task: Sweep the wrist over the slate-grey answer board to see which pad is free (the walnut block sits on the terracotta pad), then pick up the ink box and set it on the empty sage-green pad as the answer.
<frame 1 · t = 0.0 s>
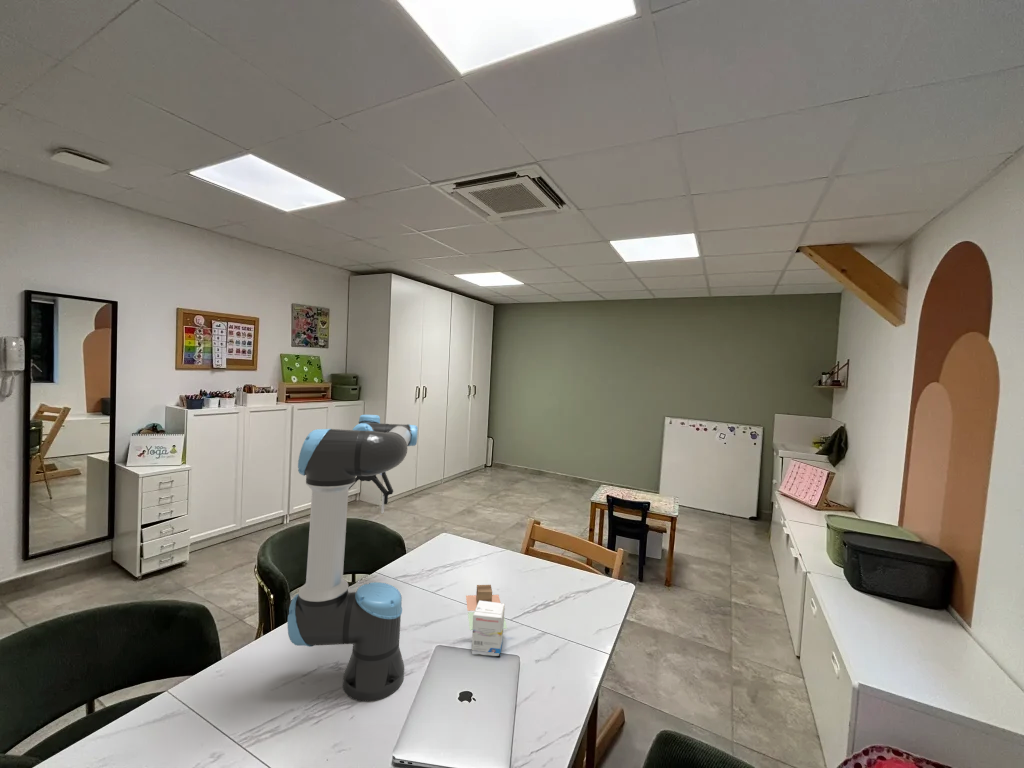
hand: (363, 512, 152), 28 cm above the table, fingers open, 13 cm apart
walnut block: (483, 602, 144), point 1 cm above the table, touching answer board
answer board: (484, 615, 139), on the table
ink box: (487, 647, 122), on the table
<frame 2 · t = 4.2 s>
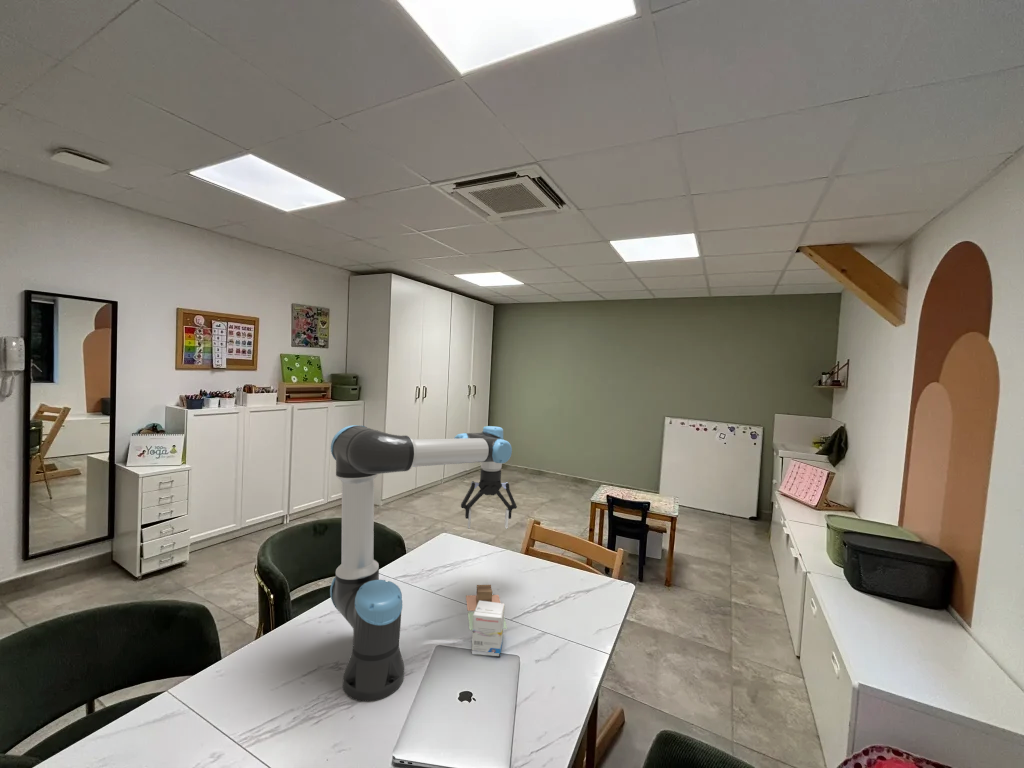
hand: (487, 527, 148), 27 cm above the table, fingers open, 13 cm apart
nothing on the table moved.
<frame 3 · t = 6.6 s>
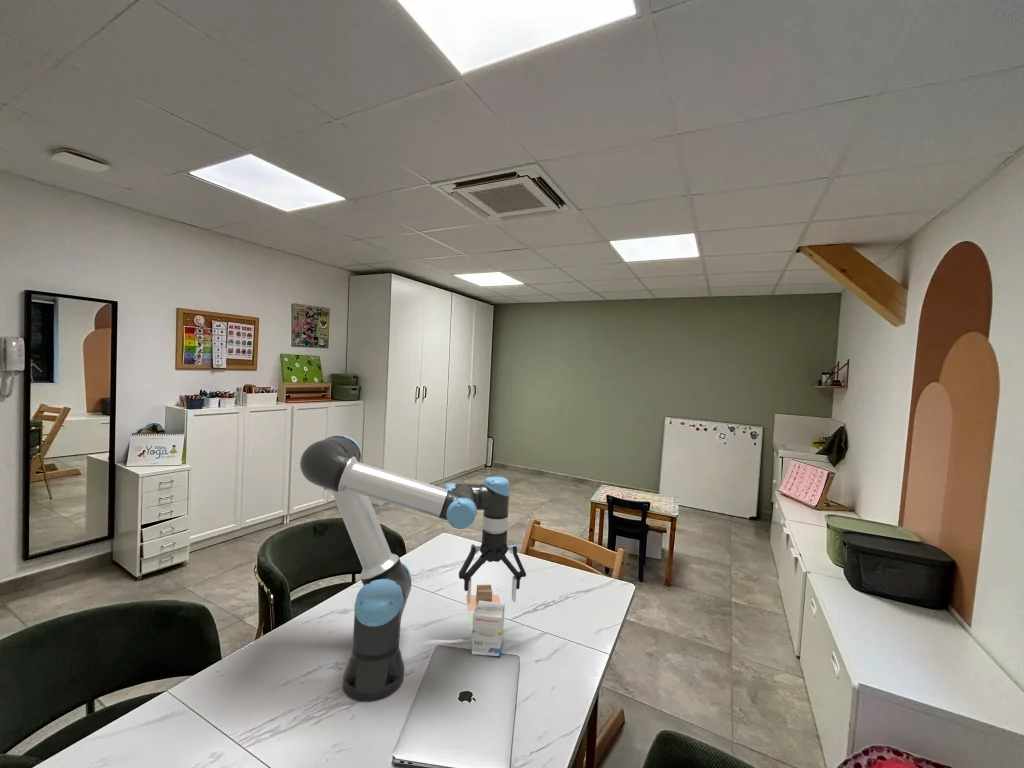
hand: (491, 600, 122), 14 cm above the table, fingers open, 13 cm apart
nothing on the table moved.
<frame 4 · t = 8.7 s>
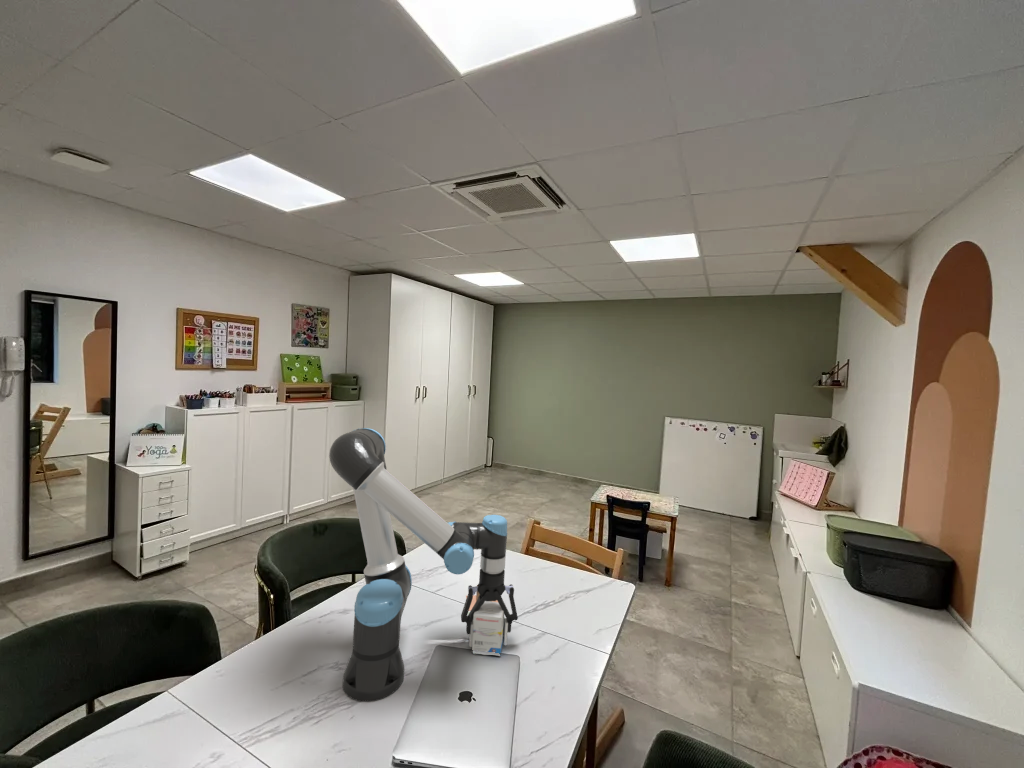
hand: (487, 643, 122), 1 cm above the table, fingers closed on ink box, 10 cm apart
ink box: (487, 647, 122), on the table, touching gripper
everything else where it was.
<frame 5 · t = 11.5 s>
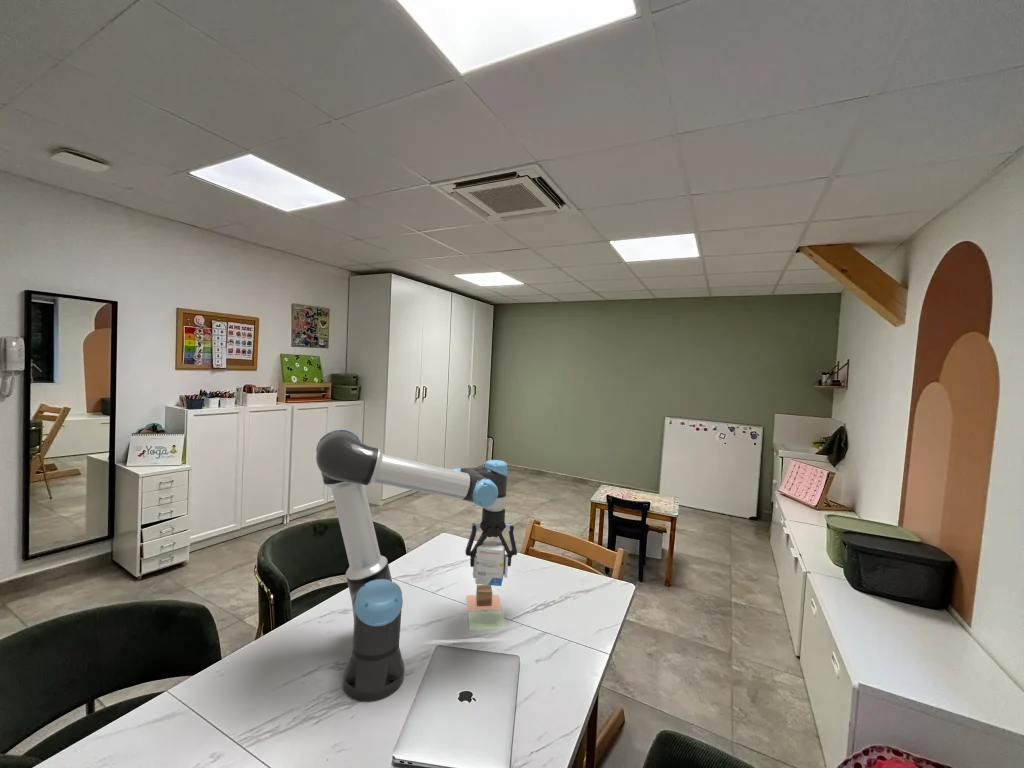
hand: (489, 575, 134), 16 cm above the table, fingers closed on ink box, 10 cm apart
ink box: (489, 579, 134), point 15 cm above the table, touching gripper
everything else where it was.
when the fingers open (4 cm above the table, at t = 14.4 s): ink box drops 2 cm, resting on answer board.
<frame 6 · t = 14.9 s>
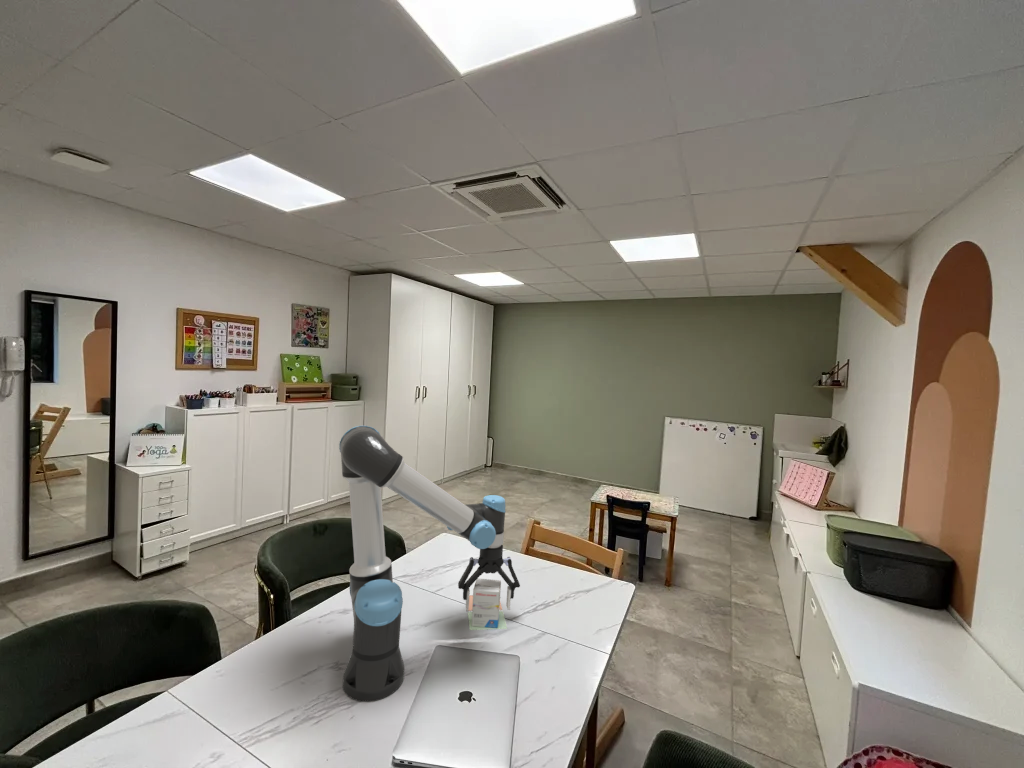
hand: (487, 608, 133), 5 cm above the table, fingers open, 13 cm apart
ink box: (485, 620, 133), point 1 cm above the table, touching answer board
everything else where it was.
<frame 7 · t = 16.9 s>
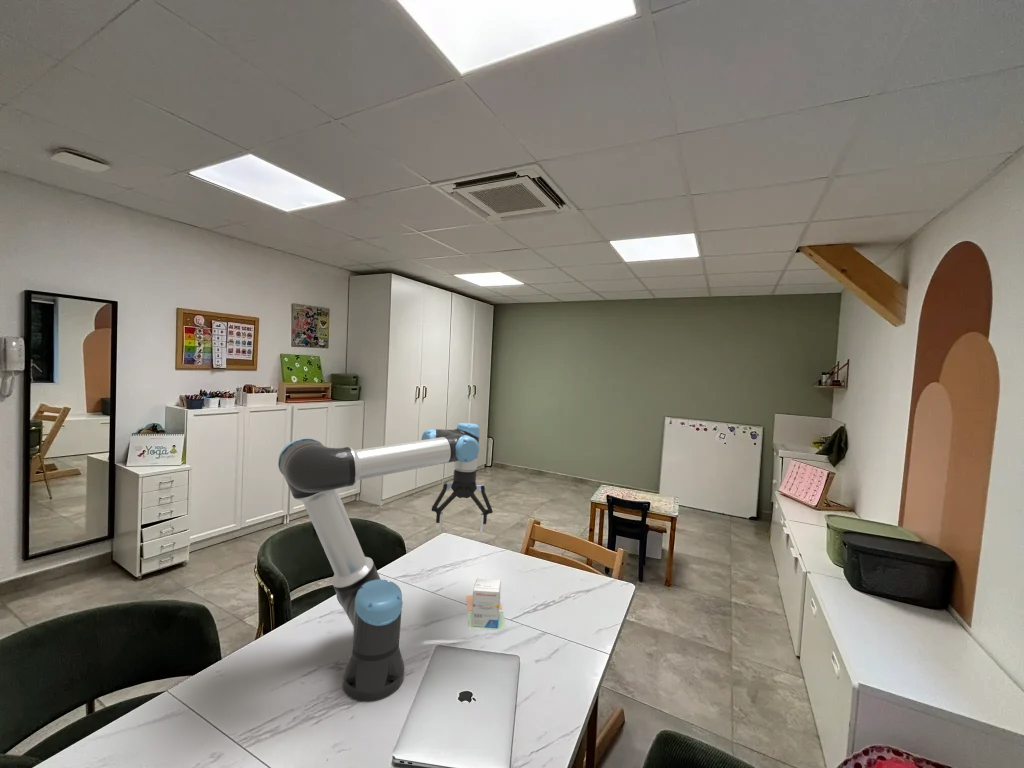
hand: (460, 533, 136), 29 cm above the table, fingers open, 13 cm apart
nothing on the table moved.
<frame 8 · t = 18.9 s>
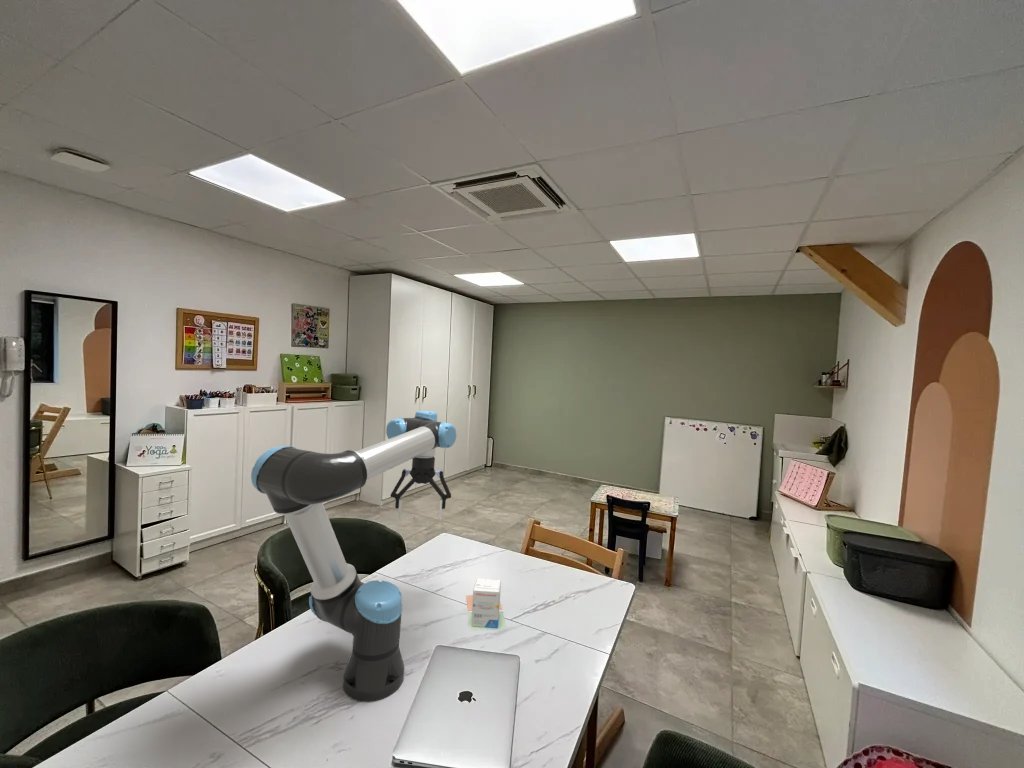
hand: (419, 518, 139), 32 cm above the table, fingers open, 13 cm apart
nothing on the table moved.
at the end: ink box inside the target area (0.4 cm from its centre), point 1.2 cm above the table; ink box tilted 0°; walnut block moved 0.0 cm from its start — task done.
